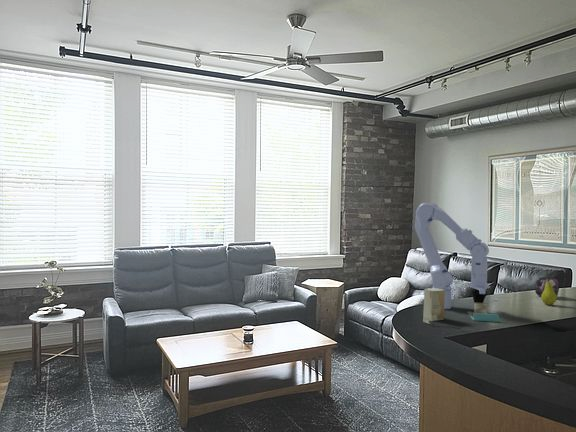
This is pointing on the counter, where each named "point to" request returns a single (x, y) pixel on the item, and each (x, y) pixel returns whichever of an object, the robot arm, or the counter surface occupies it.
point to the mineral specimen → (542, 282)
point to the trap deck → (484, 317)
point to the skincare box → (433, 305)
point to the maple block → (480, 308)
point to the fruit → (548, 294)
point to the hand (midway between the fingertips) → (478, 309)
